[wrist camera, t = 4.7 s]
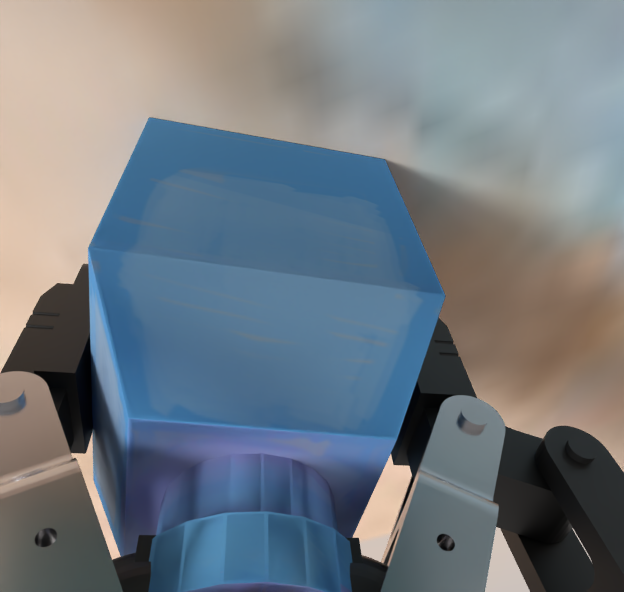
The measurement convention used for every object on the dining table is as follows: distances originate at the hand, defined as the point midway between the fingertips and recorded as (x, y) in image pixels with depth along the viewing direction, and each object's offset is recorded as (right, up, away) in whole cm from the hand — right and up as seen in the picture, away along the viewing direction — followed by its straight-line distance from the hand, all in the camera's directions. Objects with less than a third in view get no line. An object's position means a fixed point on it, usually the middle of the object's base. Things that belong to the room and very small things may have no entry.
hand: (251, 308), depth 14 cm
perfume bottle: (0, +2, +3) cm, 3 cm away
